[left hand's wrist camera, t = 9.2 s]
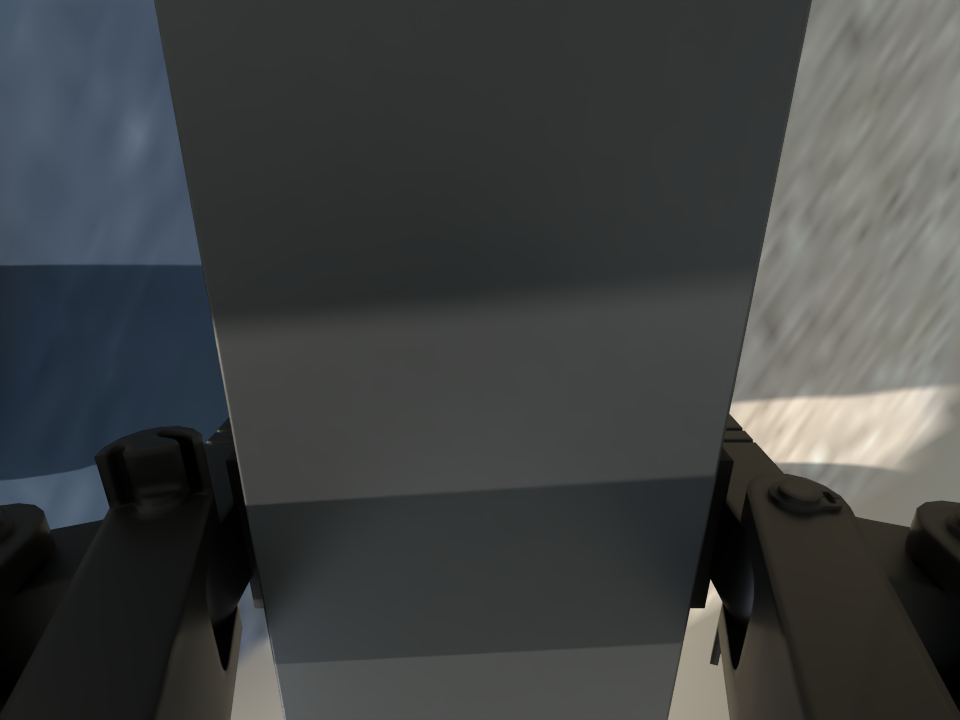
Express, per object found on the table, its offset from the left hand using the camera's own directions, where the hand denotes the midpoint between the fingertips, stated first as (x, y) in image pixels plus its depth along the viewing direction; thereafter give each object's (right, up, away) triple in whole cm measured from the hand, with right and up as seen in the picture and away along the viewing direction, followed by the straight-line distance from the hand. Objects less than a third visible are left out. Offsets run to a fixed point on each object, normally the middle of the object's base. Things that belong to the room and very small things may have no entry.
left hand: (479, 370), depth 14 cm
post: (0, +31, -12) cm, 33 cm away
